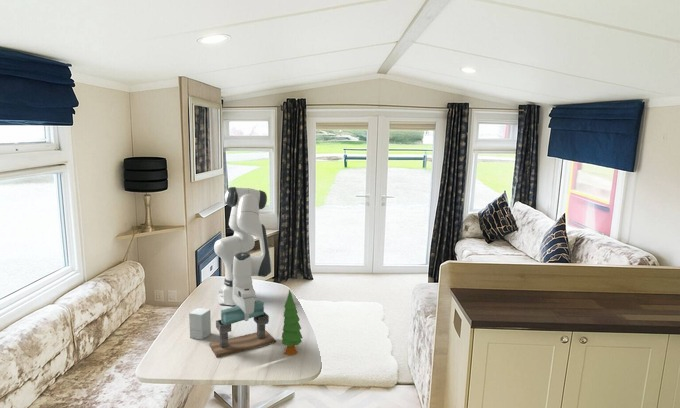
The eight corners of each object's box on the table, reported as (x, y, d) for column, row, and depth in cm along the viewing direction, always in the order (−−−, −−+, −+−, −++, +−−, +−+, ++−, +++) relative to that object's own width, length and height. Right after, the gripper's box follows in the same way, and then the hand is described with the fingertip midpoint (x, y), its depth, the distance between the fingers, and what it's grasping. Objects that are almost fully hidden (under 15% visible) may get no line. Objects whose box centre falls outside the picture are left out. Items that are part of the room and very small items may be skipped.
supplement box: (211, 333, 206) (211, 309, 204) (202, 340, 199) (201, 315, 197) (198, 331, 208) (198, 307, 206) (189, 337, 201) (188, 312, 199)
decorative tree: (282, 347, 193) (282, 285, 189) (302, 346, 194) (303, 285, 190) (281, 357, 184) (281, 293, 180) (302, 357, 185) (303, 292, 181)
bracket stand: (209, 346, 193) (208, 319, 191) (266, 333, 208) (266, 308, 206) (216, 357, 183) (216, 329, 181) (275, 343, 198) (275, 317, 196)
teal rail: (221, 322, 188) (221, 310, 187) (259, 311, 202) (259, 299, 201) (225, 325, 185) (225, 312, 184) (263, 314, 199) (263, 302, 198)
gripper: (228, 282, 198) (229, 310, 200) (243, 296, 181) (243, 326, 183) (241, 280, 202) (241, 307, 204) (256, 293, 185) (257, 323, 187)
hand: (242, 316), depth 193 cm, fingers open, 8 cm apart
